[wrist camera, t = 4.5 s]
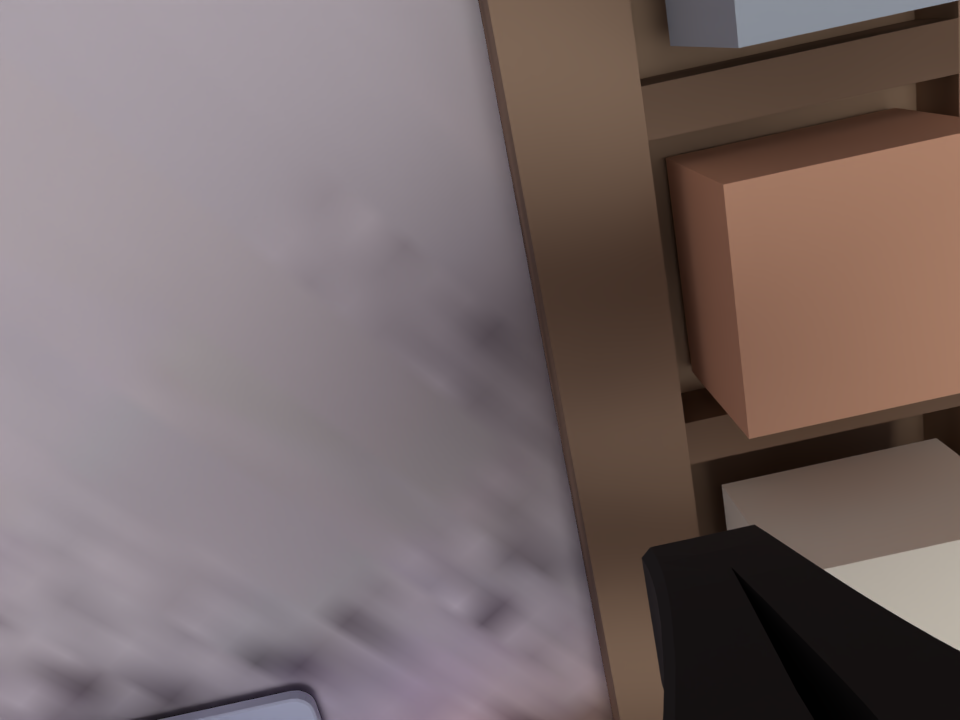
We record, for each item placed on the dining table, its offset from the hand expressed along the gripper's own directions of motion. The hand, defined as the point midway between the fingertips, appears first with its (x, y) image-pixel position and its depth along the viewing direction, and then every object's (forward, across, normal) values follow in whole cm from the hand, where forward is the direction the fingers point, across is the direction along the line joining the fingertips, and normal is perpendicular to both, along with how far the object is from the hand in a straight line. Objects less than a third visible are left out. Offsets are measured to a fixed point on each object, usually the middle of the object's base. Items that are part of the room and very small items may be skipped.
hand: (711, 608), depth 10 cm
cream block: (+8, -5, +6) cm, 11 cm away
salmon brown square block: (+10, -5, -1) cm, 11 cm away
